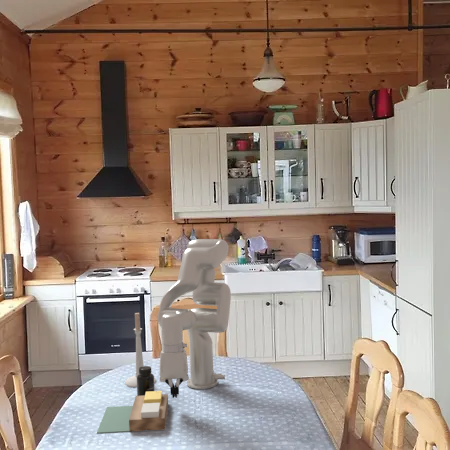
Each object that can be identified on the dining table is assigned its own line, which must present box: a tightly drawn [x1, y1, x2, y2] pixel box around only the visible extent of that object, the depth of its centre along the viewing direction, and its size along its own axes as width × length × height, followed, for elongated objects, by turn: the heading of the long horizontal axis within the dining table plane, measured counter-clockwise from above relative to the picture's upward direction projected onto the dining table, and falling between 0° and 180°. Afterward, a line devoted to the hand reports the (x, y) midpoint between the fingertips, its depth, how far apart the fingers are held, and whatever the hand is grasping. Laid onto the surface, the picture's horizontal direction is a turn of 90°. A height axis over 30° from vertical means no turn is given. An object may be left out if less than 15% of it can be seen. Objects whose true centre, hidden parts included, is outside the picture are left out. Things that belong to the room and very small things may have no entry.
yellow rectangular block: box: [144, 390, 163, 404], centre depth 215 cm, size 6×8×2 cm
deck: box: [129, 393, 169, 432], centre depth 209 cm, size 12×22×4 cm, turn 2°
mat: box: [96, 405, 133, 434], centre depth 209 cm, size 12×22×1 cm, turn 2°
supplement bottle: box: [136, 365, 156, 396], centre depth 228 cm, size 7×7×12 cm
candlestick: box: [124, 312, 157, 388], centre depth 245 cm, size 13×13×30 cm
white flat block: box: [141, 403, 160, 418], centre depth 203 cm, size 6×8×2 cm
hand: (174, 396), depth 215 cm, fingers closed
